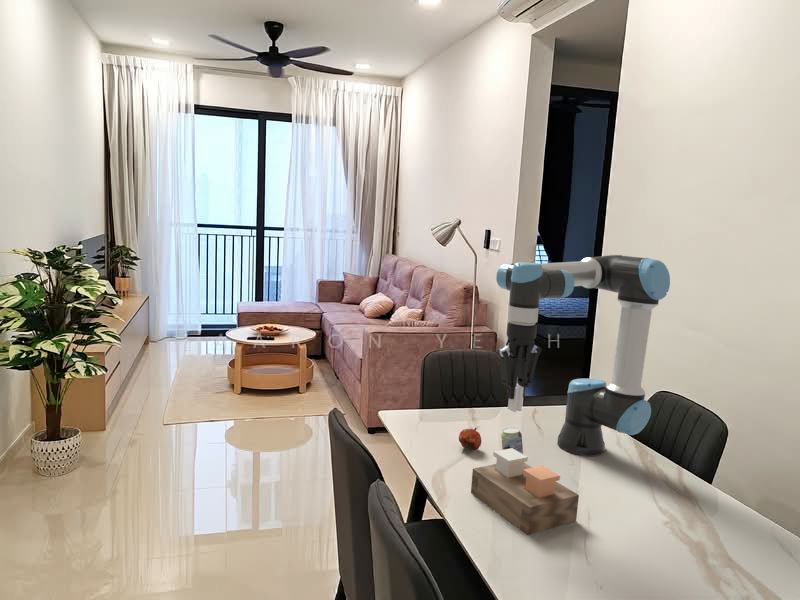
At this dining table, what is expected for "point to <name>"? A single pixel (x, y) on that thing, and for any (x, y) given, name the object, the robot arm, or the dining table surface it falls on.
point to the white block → (509, 462)
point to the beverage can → (512, 439)
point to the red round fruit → (470, 439)
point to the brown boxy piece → (523, 500)
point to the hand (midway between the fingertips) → (514, 409)
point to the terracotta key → (540, 481)
